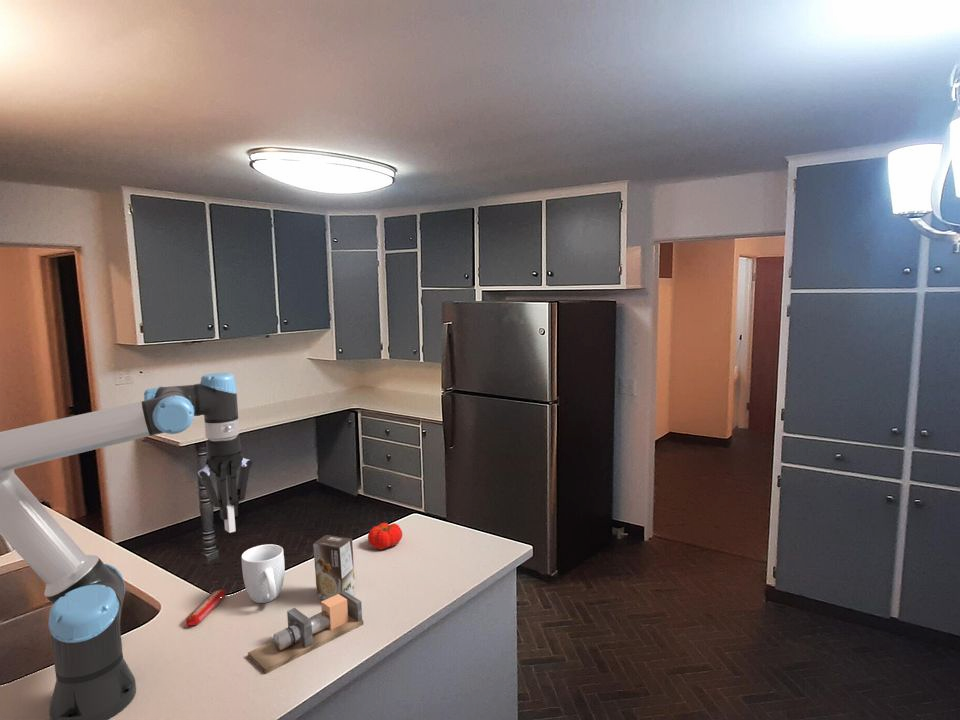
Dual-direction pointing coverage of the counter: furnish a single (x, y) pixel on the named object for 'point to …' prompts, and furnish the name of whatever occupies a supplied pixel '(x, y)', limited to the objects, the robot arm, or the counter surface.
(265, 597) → the mug
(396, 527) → the tomato
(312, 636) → the rail
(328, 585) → the coffee box
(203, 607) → the candy bar
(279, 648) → the shaft
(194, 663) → the counter surface
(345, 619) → the block
